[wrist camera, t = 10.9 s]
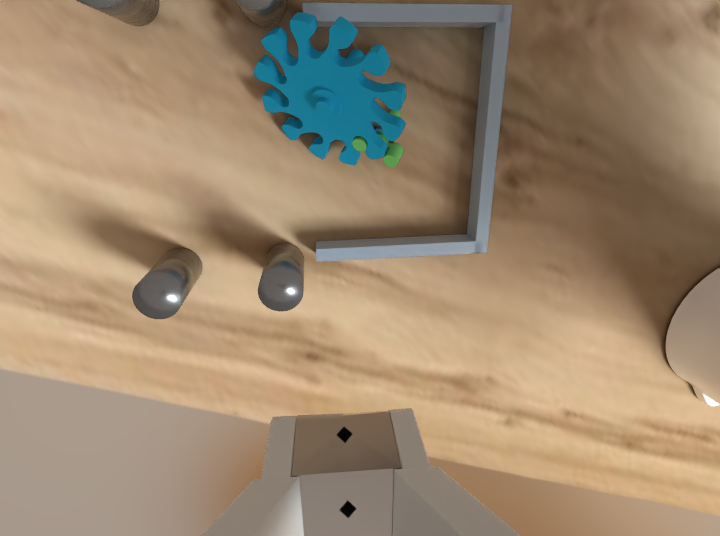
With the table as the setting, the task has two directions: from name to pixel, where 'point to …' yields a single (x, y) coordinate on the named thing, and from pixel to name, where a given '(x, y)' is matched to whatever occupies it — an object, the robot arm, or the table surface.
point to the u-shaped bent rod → (487, 121)
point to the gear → (333, 92)
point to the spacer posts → (180, 265)
